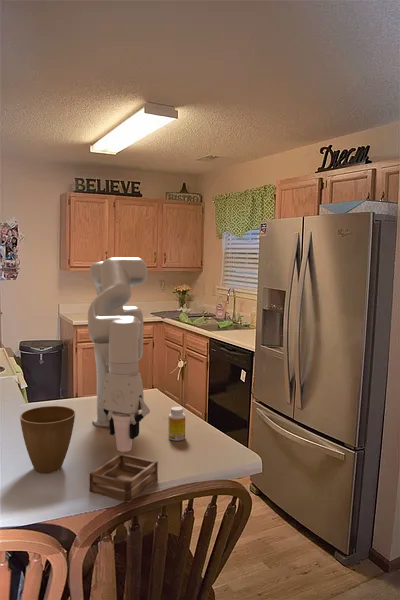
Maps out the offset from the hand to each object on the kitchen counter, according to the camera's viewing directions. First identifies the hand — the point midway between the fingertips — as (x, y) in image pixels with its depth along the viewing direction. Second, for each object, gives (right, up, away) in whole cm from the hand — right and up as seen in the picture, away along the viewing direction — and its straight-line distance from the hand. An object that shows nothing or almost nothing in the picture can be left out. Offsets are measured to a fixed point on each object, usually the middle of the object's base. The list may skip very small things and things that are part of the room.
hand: (124, 434), depth 125 cm
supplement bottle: (+12, -11, +34) cm, 38 cm away
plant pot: (-23, -13, +11) cm, 29 cm away
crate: (0, -14, +1) cm, 14 cm away
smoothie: (0, -4, 0) cm, 4 cm away
